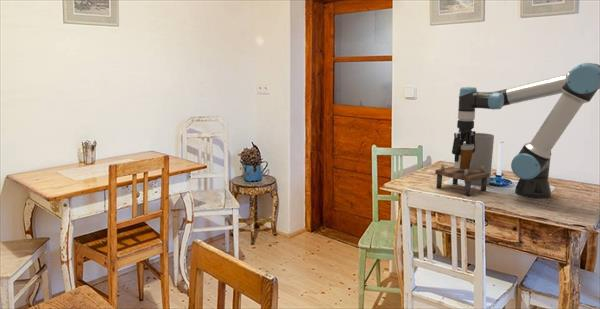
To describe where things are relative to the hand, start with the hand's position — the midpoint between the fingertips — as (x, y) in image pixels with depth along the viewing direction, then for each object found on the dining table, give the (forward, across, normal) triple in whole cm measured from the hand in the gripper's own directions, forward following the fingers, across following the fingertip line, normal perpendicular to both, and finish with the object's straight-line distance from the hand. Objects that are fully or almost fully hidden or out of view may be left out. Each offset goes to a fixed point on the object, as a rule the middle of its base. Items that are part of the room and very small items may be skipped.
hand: (462, 166), depth 228 cm
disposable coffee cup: (+1, 0, 0) cm, 1 cm away
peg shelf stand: (+11, 0, 0) cm, 11 cm away
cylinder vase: (+11, -18, -3) cm, 22 cm away
